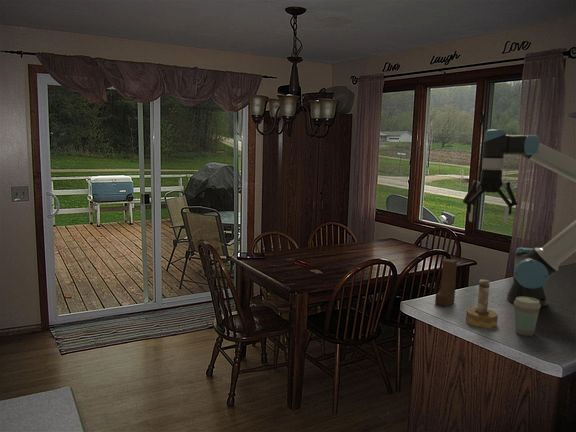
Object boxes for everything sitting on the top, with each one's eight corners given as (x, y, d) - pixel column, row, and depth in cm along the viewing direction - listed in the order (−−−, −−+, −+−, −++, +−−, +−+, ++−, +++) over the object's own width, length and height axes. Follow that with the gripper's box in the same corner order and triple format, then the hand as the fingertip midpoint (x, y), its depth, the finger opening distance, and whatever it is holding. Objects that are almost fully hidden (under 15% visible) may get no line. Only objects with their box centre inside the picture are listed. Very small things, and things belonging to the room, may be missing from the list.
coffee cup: (536, 339, 164) (540, 305, 162) (509, 333, 168) (512, 300, 166) (539, 331, 171) (542, 298, 169) (512, 326, 175) (515, 294, 174)
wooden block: (445, 307, 195) (447, 264, 192) (434, 304, 198) (437, 262, 195) (454, 302, 201) (457, 260, 198) (444, 299, 204) (447, 258, 202)
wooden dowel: (485, 321, 180) (488, 279, 177) (487, 324, 176) (490, 282, 174) (475, 320, 180) (478, 279, 178) (477, 323, 177) (480, 281, 175)
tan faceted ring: (491, 318, 182) (492, 308, 182) (499, 328, 173) (500, 317, 172) (464, 316, 184) (465, 306, 183) (470, 326, 174) (470, 315, 174)
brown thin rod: (470, 308, 194) (470, 307, 194) (473, 308, 194) (473, 307, 194) (476, 317, 183) (476, 316, 183) (480, 317, 183) (480, 316, 183)
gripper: (522, 169, 193) (517, 221, 196) (457, 167, 196) (454, 219, 200) (528, 170, 185) (523, 224, 188) (461, 168, 189) (457, 221, 192)
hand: (488, 221), depth 194 cm, fingers open, 13 cm apart
